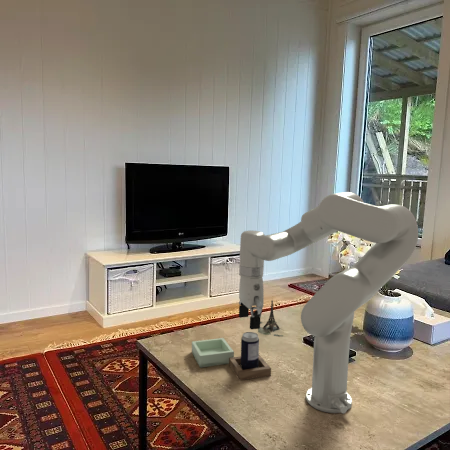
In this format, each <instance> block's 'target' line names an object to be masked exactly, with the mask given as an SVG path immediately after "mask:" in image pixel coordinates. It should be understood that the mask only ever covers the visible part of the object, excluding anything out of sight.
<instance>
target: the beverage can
mask: <svg viewBox="0 0 450 450" xmlns="http://www.w3.org/2000/svg"><path fill="white" fill-rule="evenodd" d="M259 353H260V337H259V333H256V332H254V331H246V332H244V333H242V336H241V338H240V356H241V366H240V367H241V369H242V370H246V369H253V368H259V366H258V362H259V355H260V354H259Z"/></svg>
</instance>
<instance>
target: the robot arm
mask: <svg viewBox="0 0 450 450" xmlns="http://www.w3.org/2000/svg"><path fill="white" fill-rule="evenodd" d="M418 226H419V225H418V223H417V220H416V217H415V215H414V214H413V212H412V211H411V210H410V209H409V208H407V207H406V206H405V205H402V204H386V205H381V206H377V205H374V204H370V203H366V202H364V200H363V199H362V197H360V195H358V194H356V193H354V192H350V191H345V192H344V191H343V192H337V193H335V192H334V193H331V194H328V195H327V196H326V197H324V198H323V199H322V200H321V201H320V203H319V205H317V206H316V207H314V208H312V209H310V210H307V212H304V213H303V214H302V216H301V218H300V222H298V223H296V224H294V225H292V226H291V227H289V228H287V229H285V230H283V231H280V232H276V233H271V234H264V232H263V231H259V230H244V231H242V233H241V235H240V244H239V245H240V247H239V270H238V271H239V272H238V275H239V276H240V277H239V278H240V279H239V286H238V288H239V289H238V293H239V294H238V298H239V302H238V308H239V309H238V317H239V318H249V314H250V318H249V329H250V330H258V329H259V328H260V327H261V324H260V322H261V317H262V313H263V312H262V311H263V309H264V304H265V303H264V299H265V298H264V296H265V295H264V293H265V292H264V291H265V290H264V280H263V277H264V268H265V261H266V262H267V261H268V262H271V261H276V260H278V259H281V258H285V257H288V256H291V255H292V254H296V253H297V252H299V251H301V250H303V249H305V248H307V247H309V246H311V245H313V244H316V243H318V242H320V241H321V240H323V239H325V238H327V237H329V236H331V235H332V234H333V235H334V233H337V232H340V233H343V234H345V235H349V236H352V237H355V238H357V239H361V240H364V241H367V242H370V243H374V245H373V246H371V248H369V249H368V250H367V251H366V252H365V254H364V255H363V256H362V257H361V258H359V260H358V261H357V262H355V264H353V265H352V266H350V267H349V268H347V269H344V270H342V271H340V272H338V273H336V274H335V275H333V276H331V278H329V279H328V280H327V281H326V282H325V283H324V284H323V285H322V286H321V287H320V288H319V290H318V291H317V292H316V293H314V295H313V296H312V297H311V298H310V299H309V300H308V301H307V302H306V303H305V304H304V306H303V308H302V309H301V314H300V321H301V322H300V323H301V325H302V327H303V329H304V331H306V332H307V334H309V335H311V336H312V337H314V338H313V339H314V341H313V354H312V355H313V357H312V377H311V378H312V379H311V387H310V388H308V390H307V391H306V393H305V400H306V402H307V403H308V404H309V405H310V406H311V407H313V408H314V409H316V410H318V411H321V412H325V413H331V414H338V413H339V414H340V413H341V414H346V413H347V411H349V410H350V409H351V408H352V406H353V403H352V402H353V400H352V397H351V395H350V394H349V393H348V392H347V390H348V389H347V388H348V378H349V377H348V375H349V362H350V361H349V360H350V359H349V358H350V357H349V355H350V348H351V347H350V346H351V335H352V328H353V323H354V318H355V312H356V311H357V310H358V309H359V308H360V307H362V306H363V305H365V304H366V303H368V302H369V301H370V300H371V299H372V298H373V297H374V296H376V294H377V293H378V291H380V290H381V288H382V287H383V286H385V284H387V283H388V282H389V281H390V280H391V279H392V278H393V277H394V275H396V273H398V271H400V269H402V267H403V266H404V265H405V264H406V263H407V262H408V261H409V259H410V258H411V257H412V255H413V253H414V252H415V249H416V247H417V244H418V239H419V227H418ZM254 310H255V311H254ZM249 312H250V313H249Z"/></svg>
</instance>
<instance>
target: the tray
mask: <svg viewBox="0 0 450 450" xmlns="http://www.w3.org/2000/svg"><path fill="white" fill-rule="evenodd" d="M191 354H192V356H193V357H194V359H195V361H196V363H197V364H198V366H199V368H207V367H214V366H222V365H229V358H232V357H235V351H234V350H233V348H232V346H230V345H229V343H228V342H227V340H226V339H225V338H224V337H219V338H213V339H203V340H194V341H193V340H192V341H191Z"/></svg>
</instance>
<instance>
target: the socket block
mask: <svg viewBox="0 0 450 450" xmlns="http://www.w3.org/2000/svg"><path fill="white" fill-rule="evenodd" d="M228 366H229V367H230V368H231V370H232V371H233V373H234V374H235V376H236V377H237V379H238V380H239V381H245V380H251V379H257V378H258V379H259V378H265V377H271V376H272V368H271V366H270V365H269V363H267V362H266V361H265V360H264V358H263V357H262V356H261V355H260V354H259V362H258V368H253V369H246V370H242V369H241V355H240V356H234V357H232V358H229V364H228Z"/></svg>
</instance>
